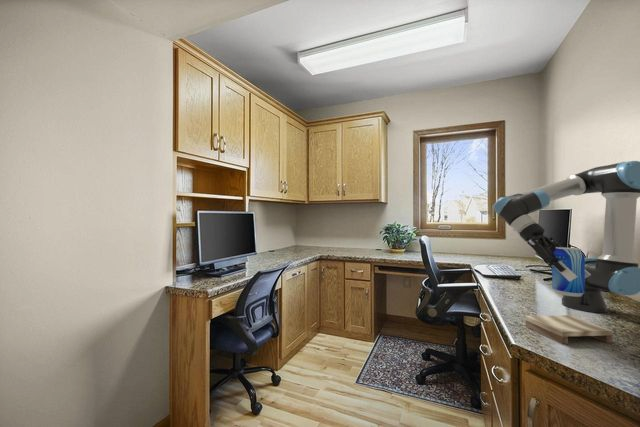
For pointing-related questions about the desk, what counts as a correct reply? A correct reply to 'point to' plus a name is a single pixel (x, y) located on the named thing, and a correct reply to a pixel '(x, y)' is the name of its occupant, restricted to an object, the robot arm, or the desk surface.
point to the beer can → (576, 264)
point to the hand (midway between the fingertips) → (580, 278)
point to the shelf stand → (566, 328)
